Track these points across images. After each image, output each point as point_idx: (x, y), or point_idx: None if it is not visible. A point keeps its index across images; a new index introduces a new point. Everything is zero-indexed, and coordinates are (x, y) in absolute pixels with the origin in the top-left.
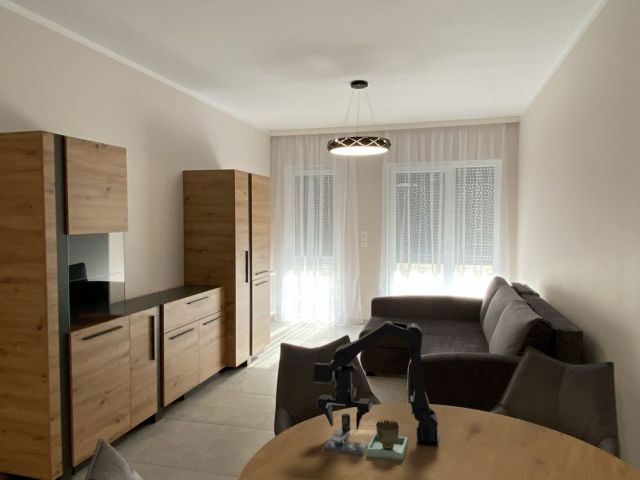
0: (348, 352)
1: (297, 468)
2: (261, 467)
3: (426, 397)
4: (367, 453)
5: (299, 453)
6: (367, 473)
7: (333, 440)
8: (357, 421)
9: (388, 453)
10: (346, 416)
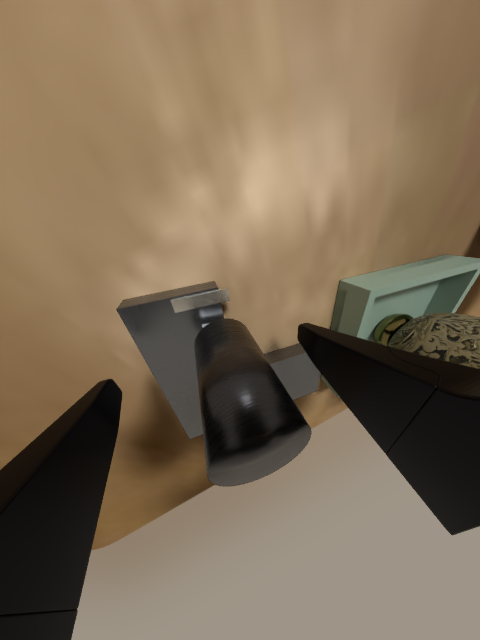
0: None
1: (183, 490)
2: (101, 535)
3: None
4: (327, 384)
5: (128, 474)
6: (325, 418)
7: (193, 399)
8: (356, 404)
9: None
10: (279, 461)
